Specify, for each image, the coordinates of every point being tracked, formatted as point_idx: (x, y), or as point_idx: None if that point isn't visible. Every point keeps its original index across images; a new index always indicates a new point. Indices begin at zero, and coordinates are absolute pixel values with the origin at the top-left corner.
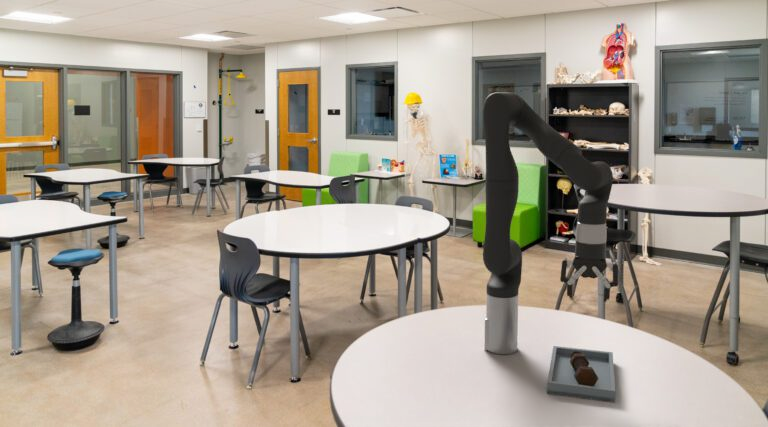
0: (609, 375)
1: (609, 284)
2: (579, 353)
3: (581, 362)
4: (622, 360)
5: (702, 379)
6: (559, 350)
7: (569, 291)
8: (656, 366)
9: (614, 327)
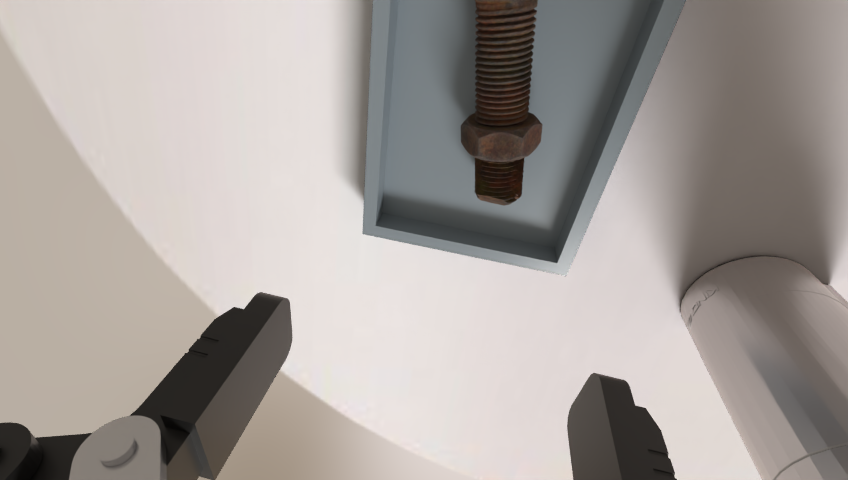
0: (391, 68)
1: (74, 472)
2: (491, 182)
3: (506, 73)
4: (341, 229)
5: (117, 117)
6: (546, 255)
7: (641, 457)
8: (246, 195)
9: (350, 402)
